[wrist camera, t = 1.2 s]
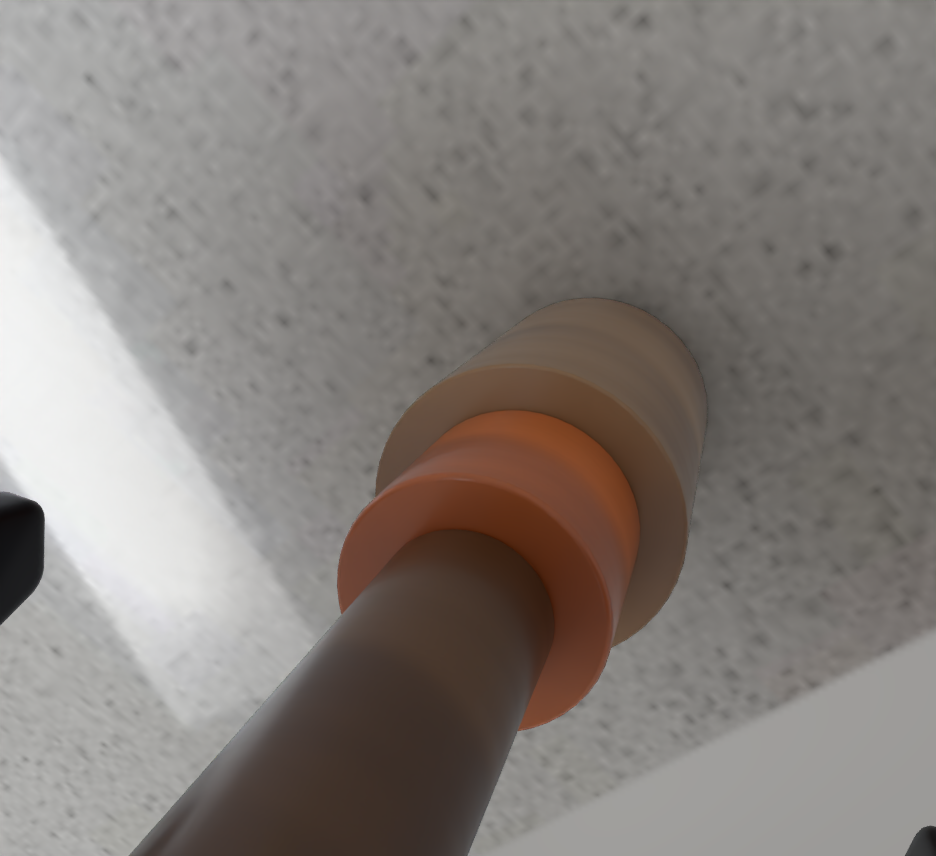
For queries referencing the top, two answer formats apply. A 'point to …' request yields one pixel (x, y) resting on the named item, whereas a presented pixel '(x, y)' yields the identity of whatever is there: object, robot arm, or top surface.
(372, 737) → the brown peg with discs
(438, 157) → the top surface
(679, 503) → the stand
